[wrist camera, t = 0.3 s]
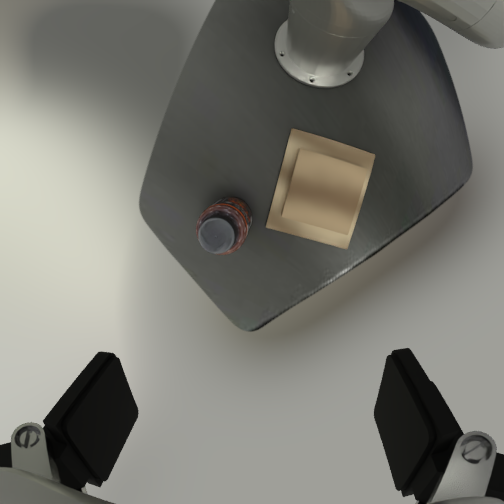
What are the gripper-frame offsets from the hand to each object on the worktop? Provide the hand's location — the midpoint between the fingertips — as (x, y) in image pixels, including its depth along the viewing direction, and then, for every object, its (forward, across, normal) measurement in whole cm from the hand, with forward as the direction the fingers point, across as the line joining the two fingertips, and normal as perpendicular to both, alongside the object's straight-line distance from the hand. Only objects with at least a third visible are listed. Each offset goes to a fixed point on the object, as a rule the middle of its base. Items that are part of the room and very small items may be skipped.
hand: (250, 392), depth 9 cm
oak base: (+34, -8, -4) cm, 35 cm away
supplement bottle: (+34, +5, 0) cm, 35 cm away
